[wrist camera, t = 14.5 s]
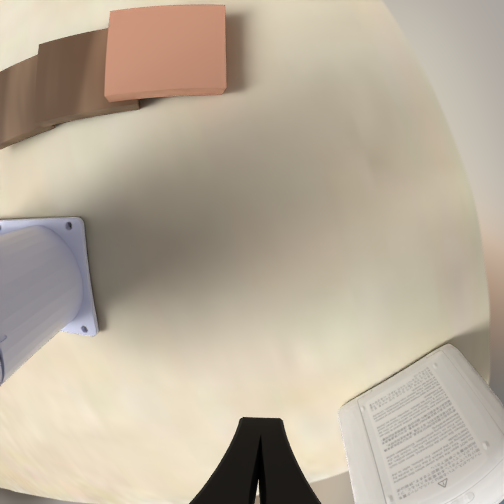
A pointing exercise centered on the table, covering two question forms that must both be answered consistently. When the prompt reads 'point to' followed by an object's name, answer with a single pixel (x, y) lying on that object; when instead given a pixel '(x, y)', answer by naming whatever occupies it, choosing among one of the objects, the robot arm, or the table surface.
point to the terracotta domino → (165, 52)
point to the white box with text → (426, 436)
